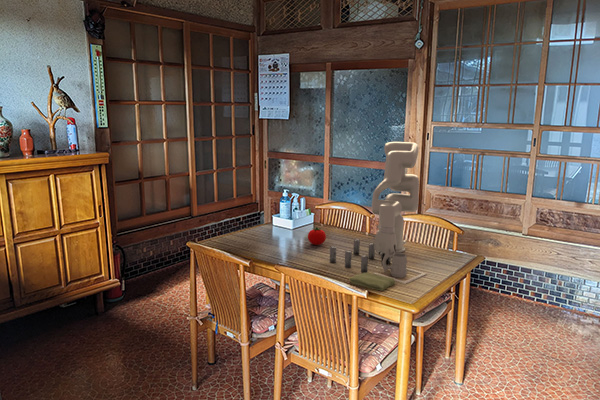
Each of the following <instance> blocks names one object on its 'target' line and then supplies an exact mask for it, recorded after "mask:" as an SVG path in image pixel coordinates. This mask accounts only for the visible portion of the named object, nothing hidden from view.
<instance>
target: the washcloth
mask: <svg viewBox="0 0 600 400" xmlns="http://www.w3.org/2000/svg"><path fill="white" fill-rule="evenodd" d="M389 277H390V276H388V277H384V276H380V275H375V274H373V273H370V272H367V273H358V274H356V275H354V276H351V277H349V278H348V280H349V282H350V284H351V283H352V284H351V285H355V286H359V285H360V286H359V287H363V288H366V287H368V288H367V289H370V288H373V289H372V290H374V289H376V290H375V291H378V290H380V291H379V292H383V291H384V290H387V289H388V288H390V287H392V286H394V285H395V284H396V281H395V280H394V279H393V278H394V277H392V278H389ZM389 286H390V287H389ZM387 287H388V288H387ZM386 288H387V289H386Z"/></svg>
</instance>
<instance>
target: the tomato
mask: <svg viewBox="0 0 600 400" xmlns="http://www.w3.org/2000/svg"><path fill="white" fill-rule="evenodd" d="M326 239H327V235H326V232H325V231H324V230H322V227H319V228H318V227H315V228H314V227H312V228H311V230H309V232H308V233H307V241H308V242H309V243H310V244H311V245H314V246H320V245H322V244H324V243H325V241H326Z"/></svg>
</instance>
